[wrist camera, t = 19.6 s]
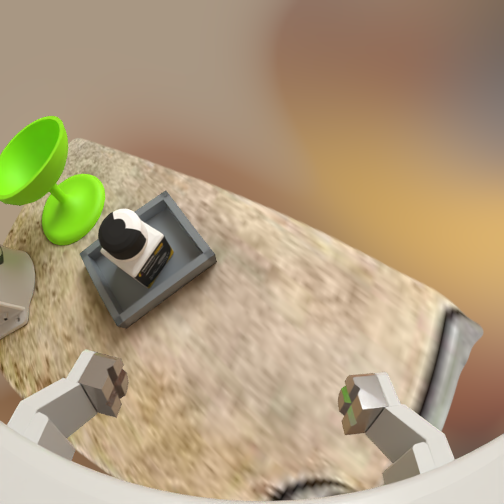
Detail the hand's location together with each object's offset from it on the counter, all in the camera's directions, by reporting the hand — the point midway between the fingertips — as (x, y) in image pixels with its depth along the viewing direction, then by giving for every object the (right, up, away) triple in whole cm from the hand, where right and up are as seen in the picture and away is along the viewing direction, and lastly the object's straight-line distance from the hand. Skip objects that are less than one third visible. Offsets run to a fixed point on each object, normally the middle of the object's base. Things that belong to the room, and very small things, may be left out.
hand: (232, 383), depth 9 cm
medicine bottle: (-16, +3, +33) cm, 37 cm away
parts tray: (-16, +3, +34) cm, 38 cm away
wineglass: (-35, +13, +37) cm, 52 cm away
